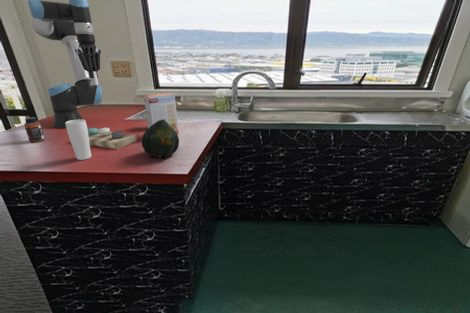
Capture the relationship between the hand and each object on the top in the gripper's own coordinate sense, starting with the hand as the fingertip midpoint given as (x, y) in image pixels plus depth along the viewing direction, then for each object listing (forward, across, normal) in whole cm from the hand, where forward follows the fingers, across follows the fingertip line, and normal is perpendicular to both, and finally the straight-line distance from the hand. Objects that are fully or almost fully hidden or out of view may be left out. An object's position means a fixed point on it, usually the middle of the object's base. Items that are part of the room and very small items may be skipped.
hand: (95, 84), depth 127 cm
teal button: (+21, -14, -8) cm, 26 cm away
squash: (+25, -18, -51) cm, 59 cm away
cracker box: (+25, +4, -36) cm, 44 cm away
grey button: (+21, -14, -24) cm, 35 cm away
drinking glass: (+25, -33, -24) cm, 48 cm away
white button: (+20, -14, -16) cm, 29 cm away
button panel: (+24, -14, -16) cm, 32 cm away
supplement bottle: (+25, -25, +16) cm, 39 cm away
